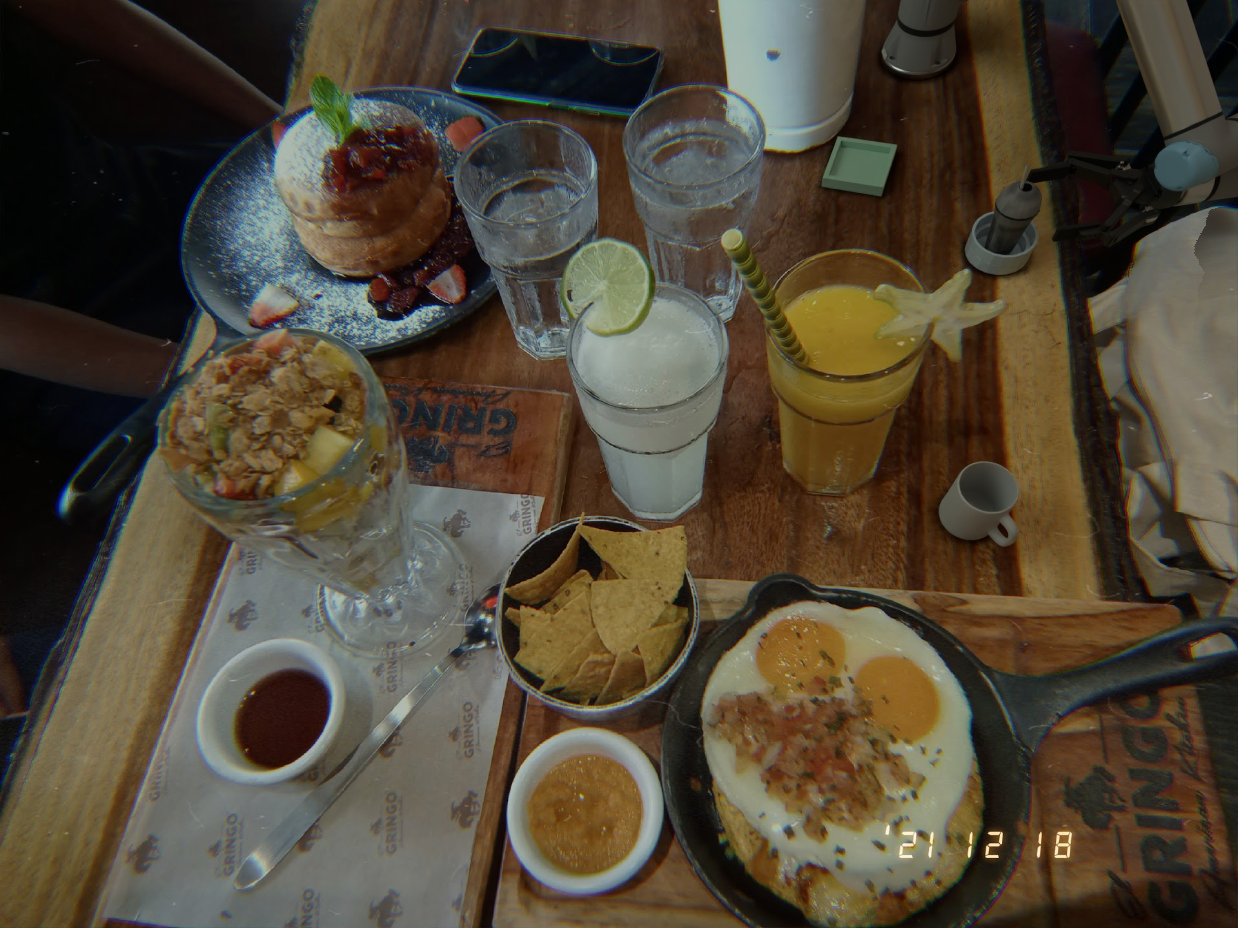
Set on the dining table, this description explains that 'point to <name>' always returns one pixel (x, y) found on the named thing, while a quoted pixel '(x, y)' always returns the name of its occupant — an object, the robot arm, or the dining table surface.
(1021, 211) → the beverage cup
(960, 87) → the dining table surface
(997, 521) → the mug
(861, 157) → the tray
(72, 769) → the dining table surface
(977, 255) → the bowl
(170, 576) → the dining table surface
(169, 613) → the dining table surface
